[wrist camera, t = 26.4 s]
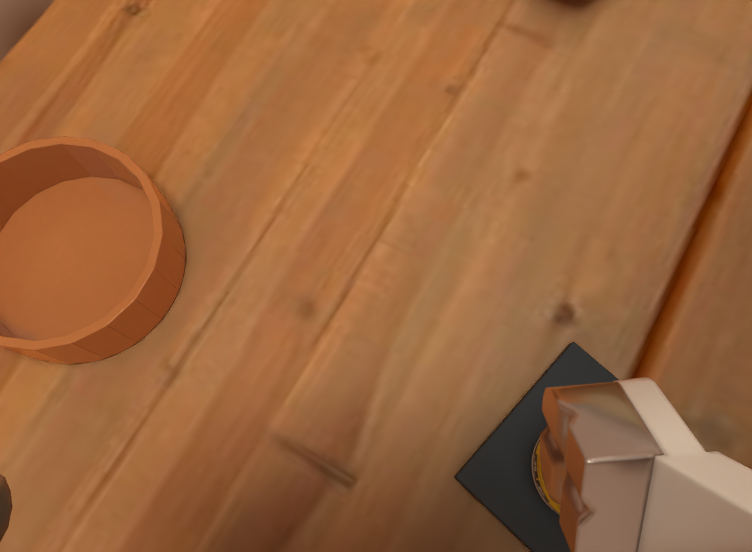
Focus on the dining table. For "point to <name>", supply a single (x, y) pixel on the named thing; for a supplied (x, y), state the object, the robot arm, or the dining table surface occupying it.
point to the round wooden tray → (82, 251)
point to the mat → (526, 457)
